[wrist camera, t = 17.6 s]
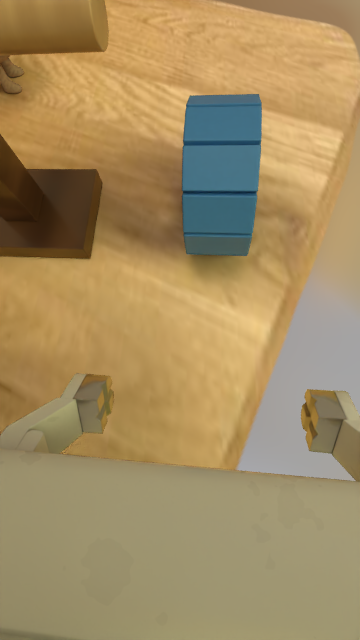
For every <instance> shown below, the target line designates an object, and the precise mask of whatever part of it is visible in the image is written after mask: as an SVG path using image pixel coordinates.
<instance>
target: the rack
mask: <svg viewBox="0 0 360 640" xmlns="http://www.w3.org/2000/svg"><path fill="white" fill-rule="evenodd" d="M107 46H108V20H107V13H106V7H105V2H104V0H0V55H25V54H54V53H83V52H104V51H106V49H107ZM101 188H102V181H101V178H100V176H99V174H98V172H97V170H96V169H26V168H25V167H24V165H23V164H22V163H21V161H20V160H19V159H18V157H17V156H16V155H15V153H14V152H13V151H12V149H11V148H10V147H9V145H8V144H7V143H6V141H5V140H4V138H3V137H2V136H1V134H0V256H23V257H56V258H90V256H91V250H92V244H93V238H94V232H95V225H96V219H97V213H98V207H99V200H100V194H101Z"/></svg>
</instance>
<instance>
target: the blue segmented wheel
mask: <svg viewBox="0 0 360 640" xmlns="http://www.w3.org/2000/svg"><path fill="white" fill-rule="evenodd" d="M261 121H262V107H261V100H260V97H259V94H246V95H201V96H190V97H189V99H188V102H187V105H186V113H185V125H184V137H183V144H184V146H183V163H182V191H183V195H182V210H183V232H184V242H185V249H186V254H194V255H232V256H247V254H248V251H249V247H250V243H251V239H252V233H253V226H254V218H255V210H256V202H257V191H258V182H259V168H260V154H261V145H260V144H261Z"/></svg>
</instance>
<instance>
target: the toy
mask: <svg viewBox="0 0 360 640" xmlns="http://www.w3.org/2000/svg"><path fill="white" fill-rule="evenodd" d="M9 56H10V55H0V64H1V65H0V84H1V86H2V87H3V89H4V90H5V91H6V92H7V93H19V92H21V91H22V87H21V86H20V85H19V84H16V83H14V82H13V81H11V80H10V79H9V78H8V76H9V77H18V76H21V75H23V73H24V71H23V69H22V68H20V67H18V66H15V65H14V64H12V63H11V61H10V60H9V58H8V57H9ZM3 69H4V70H3ZM4 71H5V72H4Z"/></svg>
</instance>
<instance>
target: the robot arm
mask: <svg viewBox="0 0 360 640" xmlns="http://www.w3.org/2000/svg"><path fill="white" fill-rule="evenodd" d="M111 385H112V379H111V377H110V376H105V375H94V374H81V373H76V374H75V375H74V376H73V378H72V379H71V381H70V382H69V384H68V386H67V387H66V389H65V390H64V392H63V394H62V395H61V397H60V398H55V399H54V400H52V401H50V402H49V403H47V404H45V405H43V406H42V407H40V408H38V409H36V410H35V411H33V412H31V413H30V414H28V415H26V416H24V417H23V418H21V419H19V420H17V421H16V422H14V423H12V424H11V425H9V426H7V427H6V428H5V430H4V431H3V432H2V434H1V435H0V640H360V416H359V414H358V412H357V410H356V408H355V406H354V404H353V402H352V400H351V398H350V396H349V394H348V392H346V391H326V390H309V389H307V391H306V393H305V400H306V403H305V404H303V406H302V410H301V421H302V426H303V429H304V430H305V431H306V432H307V434H306V441H307V444H308V448H309V451H313V452H323V453H331V454H332V455H333V456H334V457H335V459H336V460H337V461H338V462H339V463H340V464H341V465H342V466H343V467H344V468H345V469H346V470H347V472H348V473H349V474H350V475H351V476H352V477H353V478H354V479H355V480H356V481H347V480H337V479H326V478H314V477H303V476H292V475H282V474H271V473H260V472H249V471H239V470H228V469H217V468H206V467H195V466H185V465H174V464H163V463H152V462H141V461H130V460H119V459H108V458H97V457H87V456H76V455H65V454H60V453H61V452H62V451H63V450H64V449H65V448H67V447H68V446H69V445H70V444H71V443H72V442H74V441H75V440H76V439H77V438H78V437H79V436H80V435H82V434H83V432H85V433H103V431H104V429H105V426H106V424H107V416H108V415H109V414H110V413H111V411H112V408H113V403H114V392H113V391H112V390H111Z"/></svg>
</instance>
